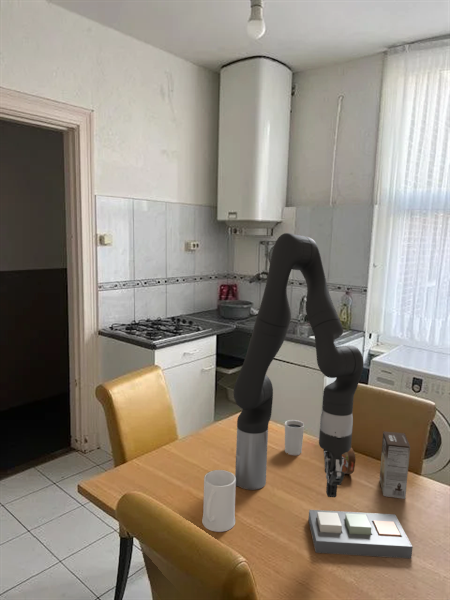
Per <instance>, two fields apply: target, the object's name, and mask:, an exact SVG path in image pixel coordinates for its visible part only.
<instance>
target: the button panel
mask: <svg viewBox="0 0 450 600" xmlns="http://www.w3.org/2000/svg"><path fill="white" fill-rule="evenodd" d="M317 512H331V513H338V516H339V519H340V522H341V525H342V530H341V533H325V532H319V529H318V525H317ZM346 513H348V514H366V516H367V518H368V521H369V523H370V525H371V535H359V534H349V533H348V530H347V527H346V524H345V515H346ZM373 520H374V521H392V522H394V523H395V525H396V527H397V529H398V531H399V533H400V534H401V537H394V536H378V533H377V531H376V529H375V527H374V524H373ZM308 524H309V529H310V533H311V537H312V542H313V543H312V544H313V547H314V550H315V553H317V554H329V555H331V554H333V555H347V556H349V555H350V556H363V557H364V556H365V557H382V558H395V559H396V558H397V559H412V558H413V557H412V556H413V545H412V543H411V541H410V539H409V537H408V536H407V534H406V532H405V530H404V528H403V526H402V524H401V523H400V521H399V519H398V517H397V516H396V514H395V513H393V514H392V513H375V512H357V511H341V510H340V511H339V510H323V509H322V510H321V509H308Z"/></svg>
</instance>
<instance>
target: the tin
mask: <svg viewBox="0 0 450 600" xmlns="http://www.w3.org/2000/svg"><path fill="white" fill-rule="evenodd" d="M342 457H343V458H344V464H343V466H342V472H344V473H345V475H351V474H353V473H354V472H355V467H356V453H355V451H354V448H352V447H351V449H350V450H349V451H348V452H346V453H344V454H342Z"/></svg>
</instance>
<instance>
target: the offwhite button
mask: <svg viewBox="0 0 450 600" xmlns="http://www.w3.org/2000/svg"><path fill="white" fill-rule="evenodd" d="M317 525H318V529H319V532H325V533H341V530H342V525H341V522H340V519H339V516H338V513H331V512H317Z"/></svg>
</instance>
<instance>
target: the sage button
mask: <svg viewBox="0 0 450 600" xmlns="http://www.w3.org/2000/svg"><path fill="white" fill-rule="evenodd" d="M345 524H346V527H347V530H348V533H349V534H359V535H371V525H370V523H369V521H368V518H367V516H366V514H348V513H346V515H345Z"/></svg>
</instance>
